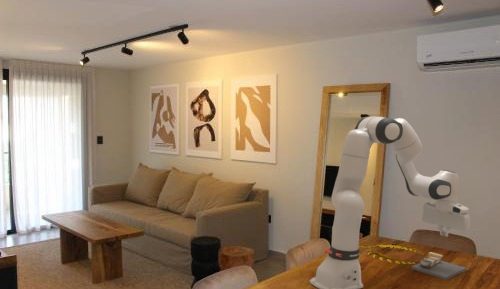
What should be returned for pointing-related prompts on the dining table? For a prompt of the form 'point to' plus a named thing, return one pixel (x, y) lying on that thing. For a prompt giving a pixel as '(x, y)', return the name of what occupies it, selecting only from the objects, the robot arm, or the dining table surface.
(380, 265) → the dining table surface
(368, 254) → the decorative wreath
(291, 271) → the dining table surface
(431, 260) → the link
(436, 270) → the pintle board
